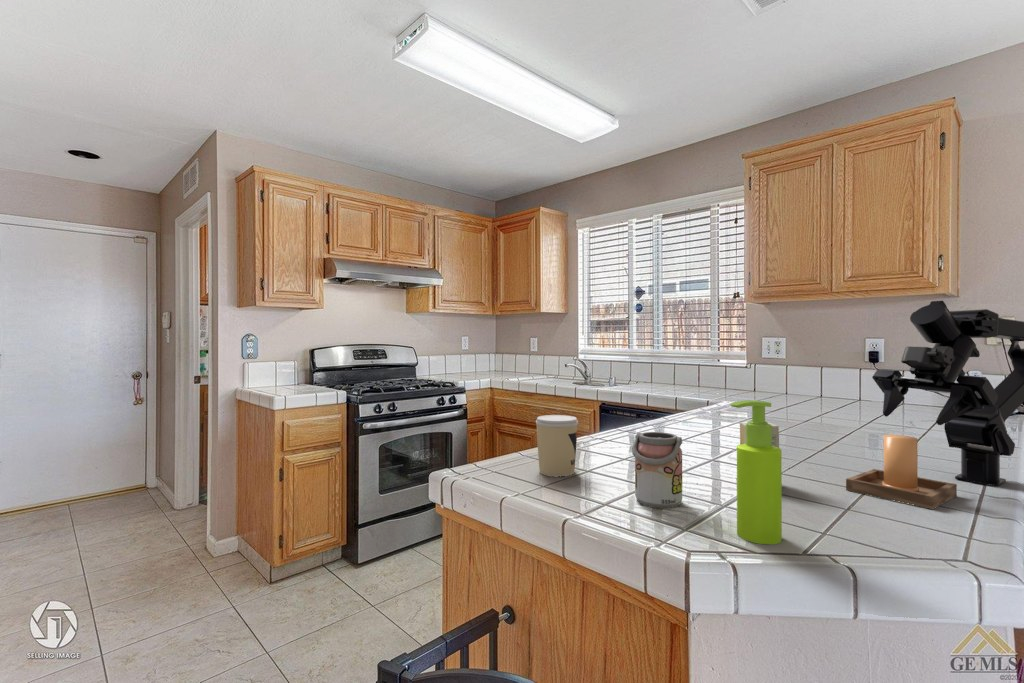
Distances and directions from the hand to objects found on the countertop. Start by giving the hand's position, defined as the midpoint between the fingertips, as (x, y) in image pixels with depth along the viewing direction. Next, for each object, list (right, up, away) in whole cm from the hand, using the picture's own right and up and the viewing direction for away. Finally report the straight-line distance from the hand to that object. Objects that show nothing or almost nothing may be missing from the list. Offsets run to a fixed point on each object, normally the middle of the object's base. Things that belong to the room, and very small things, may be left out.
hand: (910, 419), depth 93 cm
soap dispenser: (-41, -14, -22) cm, 48 cm away
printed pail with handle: (-51, -14, -7) cm, 53 cm away
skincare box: (-27, -14, +4) cm, 31 cm away
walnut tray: (-3, -14, -2) cm, 14 cm away
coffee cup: (-67, -14, +14) cm, 70 cm away
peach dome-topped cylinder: (-3, -13, -2) cm, 14 cm away
